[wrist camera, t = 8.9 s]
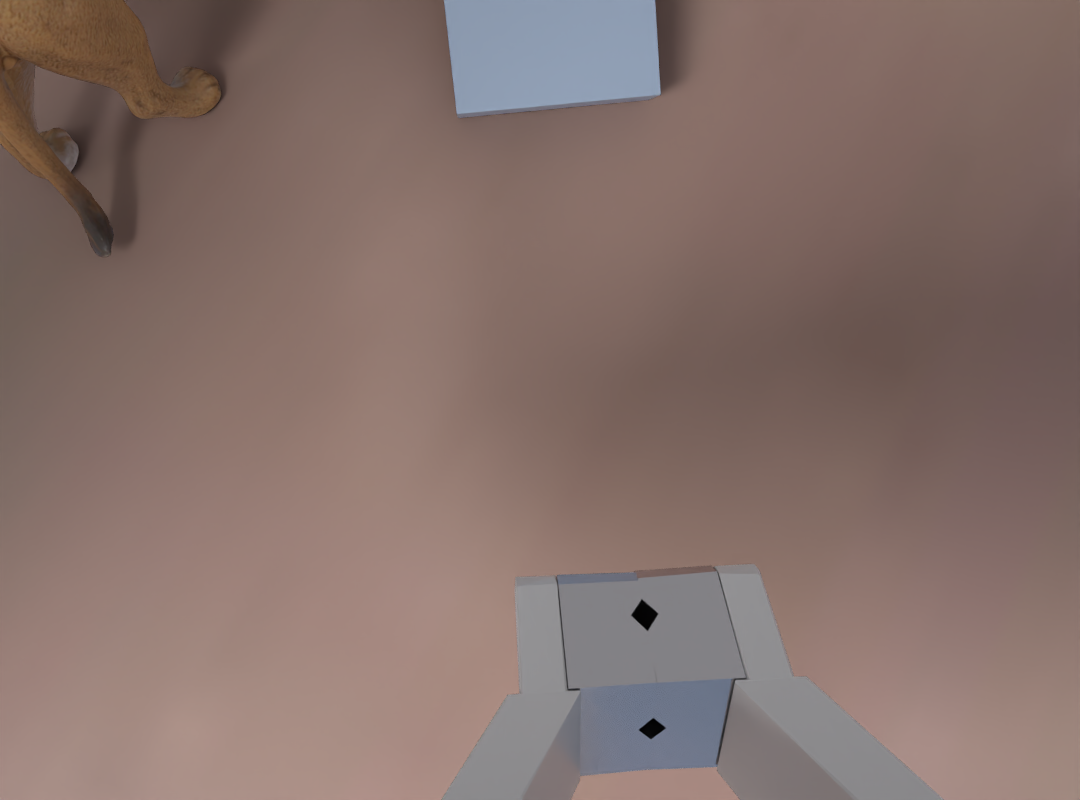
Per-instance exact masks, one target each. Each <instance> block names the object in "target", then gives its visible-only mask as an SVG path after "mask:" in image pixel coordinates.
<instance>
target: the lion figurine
mask: <svg viewBox="0 0 1080 800" xmlns="http://www.w3.org/2000/svg"><path fill="white" fill-rule="evenodd" d="M35 65H37V66H39V67H41V68H43V69H46V70H49V71H52V72H54V73H57V74H60V75H64V76H68V77H71V78H75V79H78V80H82V81H86V82H90V83H94V84H100V85H103V86H106V87H110V88H113V89H114V90H116V91H117V92H118V93H119V94H120V95H121V96H122V97H123V98H124V100H125V102H126V104H127V106H128V108H129V109H130V111H131V112H132V113H133V114H134V115H135V116H137V117H139V118H141V119H152V118H159V117H183V118H193V117H197V116H200V115H203V114H205V113H207V112H208V111H209V110H211V109H212V108H213V107H214V106H215V105H216V104H217V103H218V101H219V99H220V96H221V90H220V86H219V83H218V81H217V79H216V78H215V77H214V76H212V75H211V74H209V73H208V72H206V71H205V70H202V69H198V68H194V67H184V68H182V69H181V70H180V71H179V72H178V73H177V74H176V76H175V77H174V79H173V81H172V83H171V85H170V86H169V85H167V84H166V83H164V82H163V81H162V80H161V79H160V77H159V76H158V74H157V70H156V67H155V63H154V60H153V58H152V55H151V51H150V48H149V45H148V40H147V36H146V33H145V30H144V28H143V26H142V24H141V22H140V20H139V19H138V18H137V16H136V15H135V14H134V13H133V12H132V10H131V9H130V8H129V7H128V6H127V4H126V3H125V1H124V0H0V144H1V145H2V146H3V147H4V148H5V149H6V150H7V151H8V152H9V153H10V154H11V155H13V156H14V157H15V158H16V159H17V160H18V161H19V162H20V163H21V164H22V165H23V166H24V167H25V168H26V169H27V170H28V171H29V172H31V173H32V174H34V175H36V176H38V177H41V178H44V179H48V180H49V181H50V182H51V183H52V184H53V185H54V186H55V187H56V188H57V190H58V191H59V192H60V193H61V194H62V195H63V196H64V198H65V199H66V200H67V201H68V202H69V204H70V205H71V206H72V207H73V208H74V209H75V210H76V211H77V213H78V215H79V216H80V218H81V221H82V224H83V226H84V228H85V231H86V233H87V235H88V238H89V241H90V244H91V246H92V248H93V250H94V251H95V253H96V254H97V255H98V256H100V257H108V256H109V255H110V254H111V244H112V241H113V230H112V227H111V225H110V223H109V221H108V218H107V216H106V215H105V213H104V211H103V210H102V208H101V207H100V206H99V205H98V203H97V202H96V201H95V200H94V198H93V196H92V194H91V193H90V192H89V191H88V190H87V189H86V188H85V187H84V186H83V185H82V184H81V183H80V182H79V181H78V180H77V179H76V177H75V176H74V175H73V174H72V173H71V171H72V169H73V168H74V166H75V164H76V162H77V158H78V154H79V150H78V146H77V144H76V143H75V142H74V141H73V140H72V138H71V137H70V136H69V134H68V133H67V132H66V131H64V130H62V129H60V128H53V129H51V130H49V131H45V132H42V133H40V134H39V131H38V128H37V124H36V119H35V115H34V108H33V99H34V77H35Z"/></svg>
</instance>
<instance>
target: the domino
mask: <svg viewBox="0 0 1080 800" xmlns="http://www.w3.org/2000/svg"><path fill="white" fill-rule="evenodd" d="M444 5H445V13H446V22H447V31H448V40H449V49H450V58H451V67H452V76H453V84H454V93H455V102H456V111H457V116H458V118H464V117H474V116H485V115H495V114H506V113H516V112H527V111H537V110H548V109H558V108H569V107H579V106H590V105H600V104H611V103H621V102H632V101H642V100H649V99H652V98H654V97H656V96H659V95H661V92H660V75H659V58H658V41H657V23H656V6H655V0H444Z"/></svg>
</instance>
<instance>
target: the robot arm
mask: <svg viewBox="0 0 1080 800" xmlns="http://www.w3.org/2000/svg"><path fill="white" fill-rule="evenodd" d="M515 606H516V628H517V649H518V671H519V692H520V694H510V695H507V696H506V698H505V700H504V701H503V703H502V704H501V706H500V708H499V709H498V711H497V712H496V714H495V715H494V717H493V719H492V720H491V722H490V723H489V725H488V727H487V728H486V730H485V731H484V733H483V734H482V736H481V738H480V739H479V741H478V742H477V744H476V746H475V747H474V749H473V750H472V752H471V754H470V755H469V757H468V758H467V760H466V761H465V763H464V765H463V766H462V768H461V769H460V771H459V773H458V774H457V776H456V777H455V779H454V780H453V782H452V784H451V785H450V787H449V788H448V790H447V792H446V793H445V795H444V796H443V798H442V799H441V800H571V798H572V796H573V794H574V792H575V790H576V788H577V785H578V783H579V781H580V776H584V775H595V774H606V773H617V772H627V771H638V770H652V769H678V768H704V767H717V772H718V773H719V774H720V775H721V777H722V778H723V779H724V780H725V781H726V783H727V784H728V785H729V786H730V788H731V789H732V790H733V791H734V793H735V794H736V795H737V796H738V798H739V799H740V800H944V799H943V798H942V797H940V796H939V795H938V794H937V793H936V792H935V791H934V790H933V789H931V788H930V787H929V786H928V785H927V784H926V783H925V782H924V781H923V780H921V779H920V778H919V777H918V776H917V775H916V774H915V773H914V772H913V771H911V770H910V769H909V768H908V767H907V766H906V765H905V764H904V763H902V762H901V761H900V760H899V759H898V758H897V757H896V756H895V755H894V754H892V753H891V752H890V751H889V750H888V749H887V748H886V747H885V746H884V745H882V744H881V743H880V742H879V741H878V740H877V739H876V738H875V737H873V736H872V735H871V734H870V733H869V732H868V731H867V730H866V729H865V728H863V727H862V726H861V725H860V724H859V723H858V722H857V721H856V720H855V719H853V718H852V717H851V716H850V715H849V714H848V713H847V712H846V711H845V710H843V709H842V708H841V707H840V706H839V705H838V704H837V703H836V702H834V701H833V700H832V699H831V698H830V697H829V696H828V695H827V694H826V693H824V692H823V691H822V690H821V689H820V688H819V687H818V686H817V685H816V684H814V683H813V682H812V681H811V680H810V679H809V678H808V677H807V676H794V675H793V672H792V669H791V665H790V662H789V659H788V656H787V653H786V650H785V647H784V644H783V641H782V638H781V635H780V632H779V629H778V626H777V622H776V619H775V616H774V613H773V610H772V607H771V604H770V601H769V598H768V595H767V592H766V589H765V586H764V583H763V579H762V576H761V573H760V570H759V569H758V568H757V567H756V566H755V565H754V564H742V565H725V566H714V567H712V566H697V567H683V568H669V569H655V570H641V571H634V572H633V573H601V574H570V575H557V576H555V575H548V576H526V577H516V579H515Z"/></svg>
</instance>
